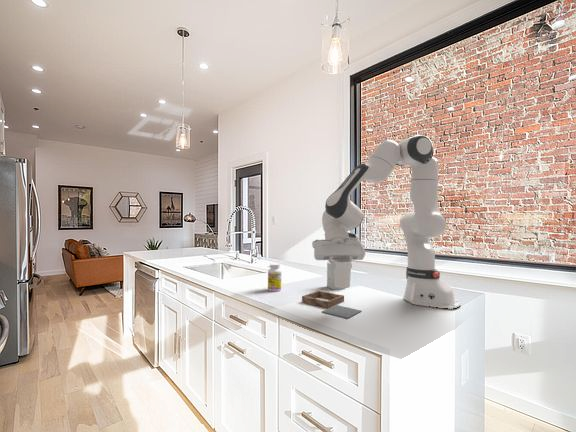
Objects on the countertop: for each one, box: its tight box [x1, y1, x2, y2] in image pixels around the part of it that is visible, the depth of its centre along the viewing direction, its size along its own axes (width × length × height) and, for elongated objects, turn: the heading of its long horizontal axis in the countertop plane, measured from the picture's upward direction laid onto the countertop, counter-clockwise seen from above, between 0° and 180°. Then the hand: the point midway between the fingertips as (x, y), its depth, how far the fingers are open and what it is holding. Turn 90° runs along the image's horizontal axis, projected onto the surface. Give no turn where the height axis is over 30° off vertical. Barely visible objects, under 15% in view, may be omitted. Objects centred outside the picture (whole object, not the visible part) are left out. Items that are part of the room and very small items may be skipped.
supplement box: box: [326, 262, 346, 290], centre depth 156 cm, size 7×7×13 cm
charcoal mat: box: [321, 304, 362, 320], centre depth 117 cm, size 11×11×1 cm
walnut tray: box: [301, 290, 345, 309], centre depth 131 cm, size 13×13×2 cm
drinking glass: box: [333, 259, 352, 289], centre depth 117 cm, size 7×7×10 cm
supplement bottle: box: [267, 262, 282, 292], centre depth 150 cm, size 7×7×13 cm
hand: (342, 267), depth 117 cm, fingers closed on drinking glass, 4 cm apart
